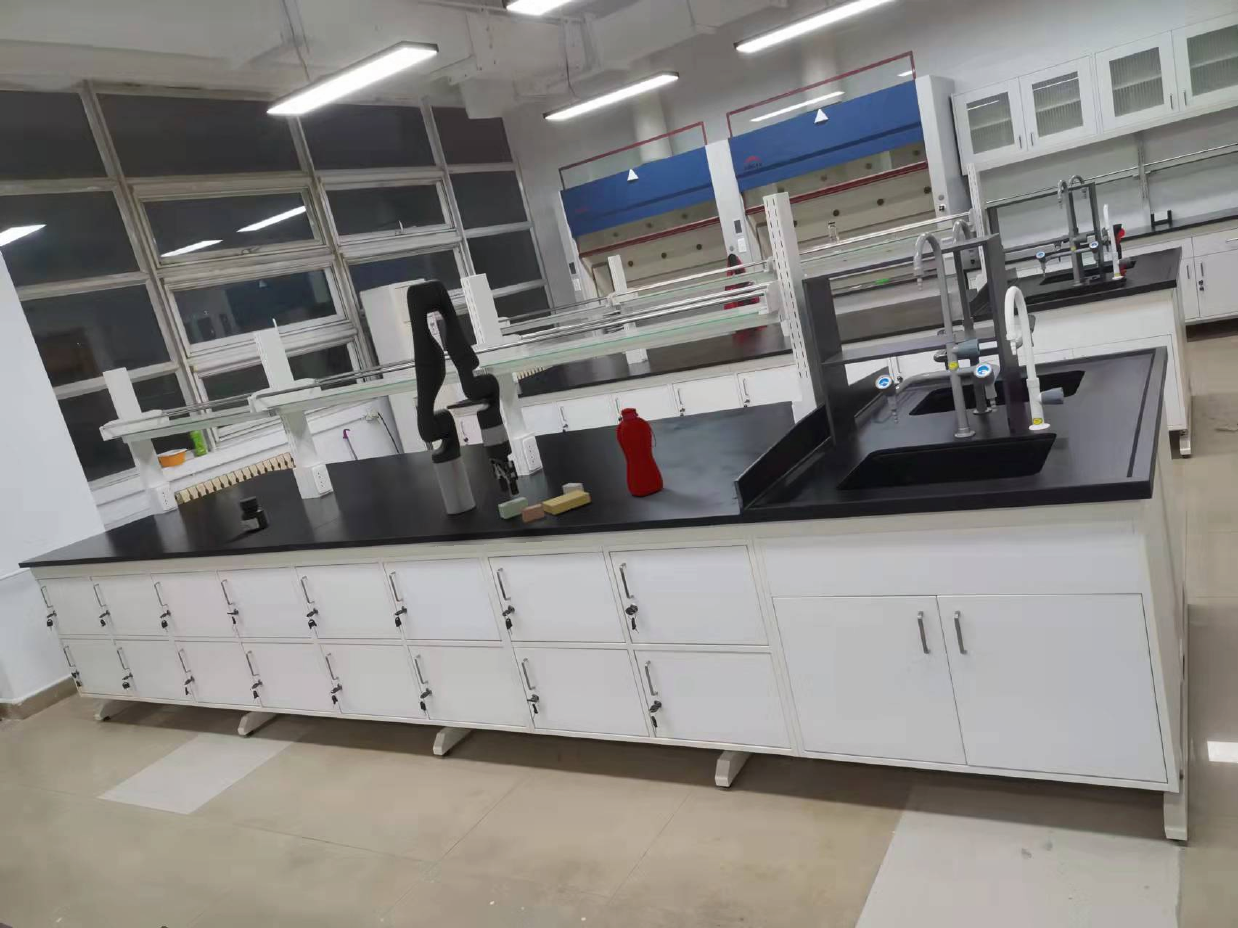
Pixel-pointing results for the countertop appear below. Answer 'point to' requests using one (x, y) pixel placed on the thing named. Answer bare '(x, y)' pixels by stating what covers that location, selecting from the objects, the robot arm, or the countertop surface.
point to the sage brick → (512, 507)
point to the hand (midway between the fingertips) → (510, 492)
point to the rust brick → (532, 512)
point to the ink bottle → (252, 514)
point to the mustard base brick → (566, 502)
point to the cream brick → (572, 487)
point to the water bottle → (638, 454)
